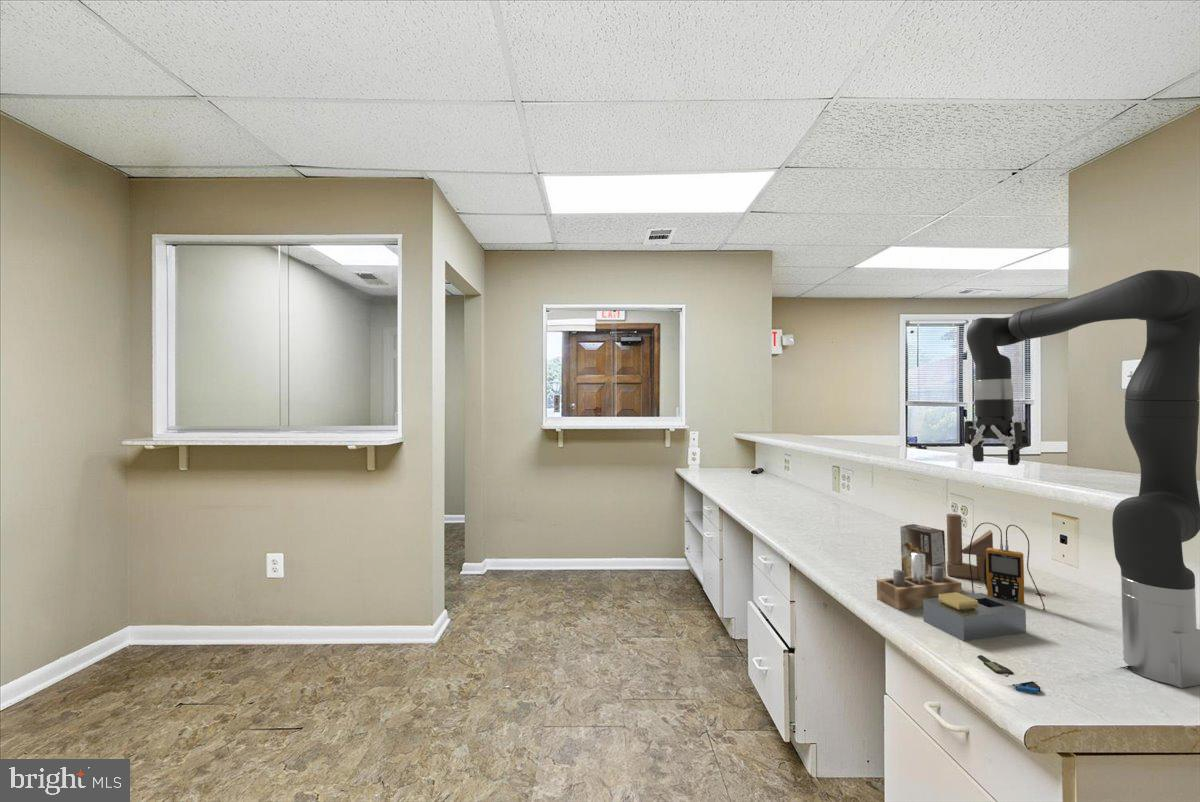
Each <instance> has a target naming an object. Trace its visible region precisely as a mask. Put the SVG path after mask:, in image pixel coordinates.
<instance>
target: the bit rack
mask: <svg viewBox="0 0 1200 802" xmlns="http://www.w3.org/2000/svg"><path fill="white" fill-rule="evenodd" d="M892 571H893V572H892V573H893V577H891V578H890V577H889V578H880V579H876V600H877V601H879V602H882V603H883V604H885V605H887V606H889V607H891V608H894V609H895V610H898V611H904V610H914V609H922V608H923V599H931V598H939V594H946V593H955V592H958V593H960V594H963V593H962V591H963V587H962V582H961V581H958V580H956V579H953V578H951V577H948V576H946V577H945V576H943V568H942V567H939V566H932V574H928V575H926V584H925V585H917V584H915V583H912V576H908V577H905V575H904V571H902V569H893V570H892Z"/></svg>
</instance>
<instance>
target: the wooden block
mask: <svg viewBox="0 0 1200 802" xmlns="http://www.w3.org/2000/svg"><path fill="white" fill-rule="evenodd" d="M962 524H963V523H962V515H961V514H957V513H947V514H946V539H947V540H946V541H947V542H946V545H947V550H946V551H947V561H946V575H947V577H948V576H949V577H954V578H963V579H970V580H971V573H970V564H969V563H967V562H964V561H963V554H964V555H969V549H970V544H968V545H967V546H965V547H963V531H962V530H963V527H962ZM993 533H994V532H992V530H991V529H989V530H988V531H986V532H985V533H984V534H982V535H980V536H979V537H977V538H976V539H975V540H974V541H972V544H971V551H970V556H971V555H972V556H975V558H976V559H975V560H976V561H975V563H976V564H972V563H971V571H972V580H979V581H982V580H983V582H985V581H984V559H985V555H986V550H987V548H994V542H993V541H994V540H993V539H994V537H993V536H994V535H993ZM986 575H987V570H986Z"/></svg>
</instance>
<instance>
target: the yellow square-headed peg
mask: <svg viewBox="0 0 1200 802" xmlns="http://www.w3.org/2000/svg"><path fill="white" fill-rule="evenodd" d="M965 595H966V594H963V593H962V594H960V593H958V592H955V593H946V594H939V601H940V602H942V603H943V605H946V606H948V607H950V608H953V609H955V610H957V611H966V610H974V608H978V600H975V599H973V598H970V597H968V596H965Z"/></svg>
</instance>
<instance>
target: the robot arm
mask: <svg viewBox="0 0 1200 802" xmlns="http://www.w3.org/2000/svg"><path fill="white" fill-rule="evenodd" d="M1116 320H1138V321H1139V320H1140V321H1145V323H1146V324H1145V325H1146V345H1145V350H1144V352H1143V355H1142V358H1141V360H1140V362H1139V363H1138V365H1137V367H1136V368H1135V370H1134V372H1133V374H1132V375H1131V377H1130V379H1129V381H1128V383H1127V386H1126V389H1125V392H1124V393H1125V395H1124V425H1125V431H1126V433H1127V435H1128V438H1129V440H1130V442H1131V445H1132V447H1133V449H1134V451H1135V453H1136V456H1137V458H1138V462H1139V467H1140V483H1139V484H1140V485H1139V491H1138V495H1136V496H1131V497H1128V498H1125V499H1123V500H1121V501H1120V502H1118V503H1117V505H1116V506H1115V508H1113V512H1112V519H1111V521H1112V523H1111V525H1112V536H1113V537H1112V538H1113V549H1114V555H1115V557H1114V558H1115V559H1116V561H1117V563H1118V565H1119V567H1120V580H1121V581H1120V582H1121V583H1120V584H1121V585H1120V586H1121V589H1120V591H1121V619H1122V647H1123V651H1122V653H1123V654H1122V655H1123V661H1124V663H1125V664H1127V665H1125V667H1126V668H1127V669H1128V670H1130V671H1131V672H1133V673H1136V674H1137V675H1139V676H1143V677H1144V678H1146V679H1147V678H1148V679H1150V680H1153V681H1156V682H1160V683H1164V684H1168V685H1172V686H1175V687H1178V688H1180V689H1184V688H1188V687H1189V688H1190V687H1195V686H1200V629H1199V628H1197V607H1196V606H1197V605H1196V604H1197V602H1196V599H1197V598H1196V576H1195V573H1194V572H1193V571H1192V569H1190V568H1188V567H1187V566H1186V564H1185V562H1184V555H1183V554H1184V553H1183V543H1184V542H1188V541H1191V540H1192V539H1194V538H1195V537H1196V536H1197V535H1198V533H1199V532H1200V497H1199V496H1200V495H1199V489H1198V480H1197V459H1198V458H1197V457H1198V443H1199V442H1198V438H1199V437H1198V435H1199V432H1198V431H1199V423H1200V390H1199V389H1200V388H1199V386H1200V385H1199V384H1200V276H1199V275H1198V274H1196V273H1193V272H1189V271H1184V270H1170V269H1169V270H1168V269H1150V270H1145V271H1142V272H1138V273H1136V274H1133V275H1131V276H1127V277H1125V278H1123V279H1121V280H1118V281H1115V282H1112V283H1111V284H1108V285H1106V286H1102V287H1101V288H1098V289H1095V290H1092V291H1088V292H1086V293H1083V294H1080V295H1077V296H1072V297H1069V298H1066V299H1061V300H1057V301H1054V302H1049V303H1046V304H1042V305H1041V304H1040V305H1037V306H1033V307H1029V308H1025V309H1022V310H1019V311H1017V312H1015V313H1013V314H1012V315H1011V316H1007V317H978V318H977V319H974V320H973V321H972V322H971V323H970V324H969V325H968V328H967V330H966V342H967V346H968V348H969V351H970V355H971V358H972V360H973V363H974V365H975V366H974V376H975V379H974V380H975V382H974V383H975V384H974V414H975V417H976V418H977V420H966V421H964V428H963V429H964V430H963V431H964V434H963V435H964V437H963V439H964V440H963V442H964V444H968V445H970V446H971V448H972V458H973V461H974V462H977V463H978V462H980V463H982V462H984V461H985V460H984V459H985V458H984V457H985V455H984V447H983V445H984V444H985V443H986V442H987V441H988V440H989V439H990V440H991V439H994V440H999V441H1001V443H1004V444H1005V446H1006V447H1007V448H1008V449H1007V465H1008V466H1019V463H1020V462H1021V458H1020V455H1021V454H1020V453H1021V449H1024V448H1029V446H1030V442H1029V439H1030V438H1029V430H1028V423H1027V422H1026V421H1015V422H1014V421H1013V417H1014V416H1015V414H1014V412H1015V411H1014V407H1015V406H1014V387H1013V382H1012V362H1011V359H1010V357H1008V356H1006V355H1004V354H1001V353H1000V351H999V349H998V347H1005V346H1011V345H1014V344H1015V345H1016V344H1018V343H1021V342H1024V341H1026V340H1033V339H1037V338H1043V337H1048V336H1053V335H1057V334H1062V333H1065V332H1067V331H1070V330H1072V329H1076V328H1078V327H1081V326H1085V325H1087V324H1091V323H1097V322H1104V321H1116ZM977 429H978V430H977ZM1013 432H1014V433H1013Z"/></svg>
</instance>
